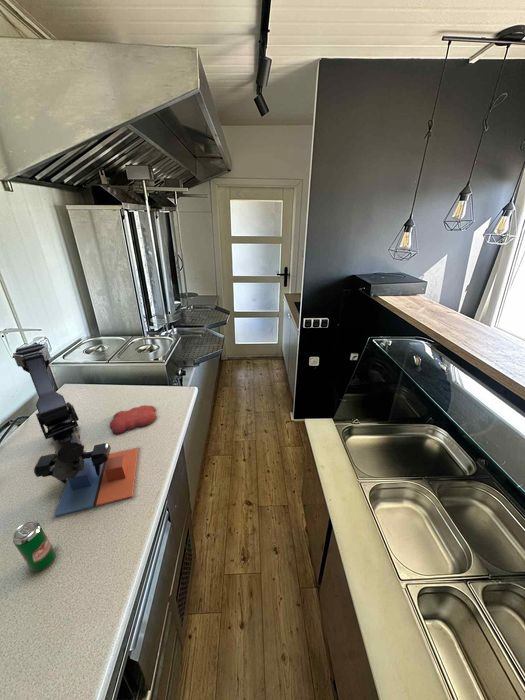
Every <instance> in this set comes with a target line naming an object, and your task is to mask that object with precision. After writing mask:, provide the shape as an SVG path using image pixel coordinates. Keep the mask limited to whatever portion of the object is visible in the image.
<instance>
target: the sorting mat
mask: <svg viewBox="0 0 525 700" xmlns="http://www.w3.org/2000/svg"><path fill="white" fill-rule="evenodd" d="M138 452H139V448H138V447H136V448H131V449H127V450H122V451H117V452H112V453H109V457H108V458H112V457H117V456H121V455H124V456H125V459H126V462H127V473H126V478H123V479H119V480H114V481H110V482H109V481H108V479H107V476H106V473H105V466H106V462H107V461H106V462H104V463H103V464H101V467H100V474H99V476H97V474H96V470H95V467H94V466H93V463H92V460H91V458H88V459H83V460H84V464H85V463H89V462H90V464H91V466H92V469H93V472H94V476H93V480H92V483H91V486H89V487H85V488H81V489H77V490H72V488H71V486H70V483H69V481H68V480H67V482H66V483H65V488H64V490H63V492H62V495H61V498H60V501H59V503H58V506H57V508H56V512H55V514H54V516H55V517H61V516H65V515H68V514H72V513H76V512H81V511H84V510H88V509H92V508H96V507H100V506H104V505H107V504H111V503H115V502H119V501H124V500H127V499H131V498H133V495H134V487H135V480H136V479H135V477H136V469H137V461H138Z"/></svg>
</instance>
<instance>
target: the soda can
mask: <svg viewBox="0 0 525 700" xmlns="http://www.w3.org/2000/svg"><path fill="white" fill-rule="evenodd" d="M12 543H13V545H14V546H15V548H16V549H17V551H18V553H20V555H21V556H22V558H23V559H24V561H25V562H26V564H27V565H28V567H29V569H30V570H31V571H32V572H40V571H43V570H44V569H46V568H47V567H48V566H50V565H51V563H52V562H53V561H54V559H55V557H56V550H55V549H54V547H53V545H52V543H51V541H50V539H49V538H48V536H47V534H46V533H45V530H44V529H43V528H42V526H41V524H40V522H39V523H38V522H36V521H31V520H30V521H27V522H25V523H23V524H22V525H20V526H19V527H18V528H16V530H15V531H14V533H13V535H12Z"/></svg>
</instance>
